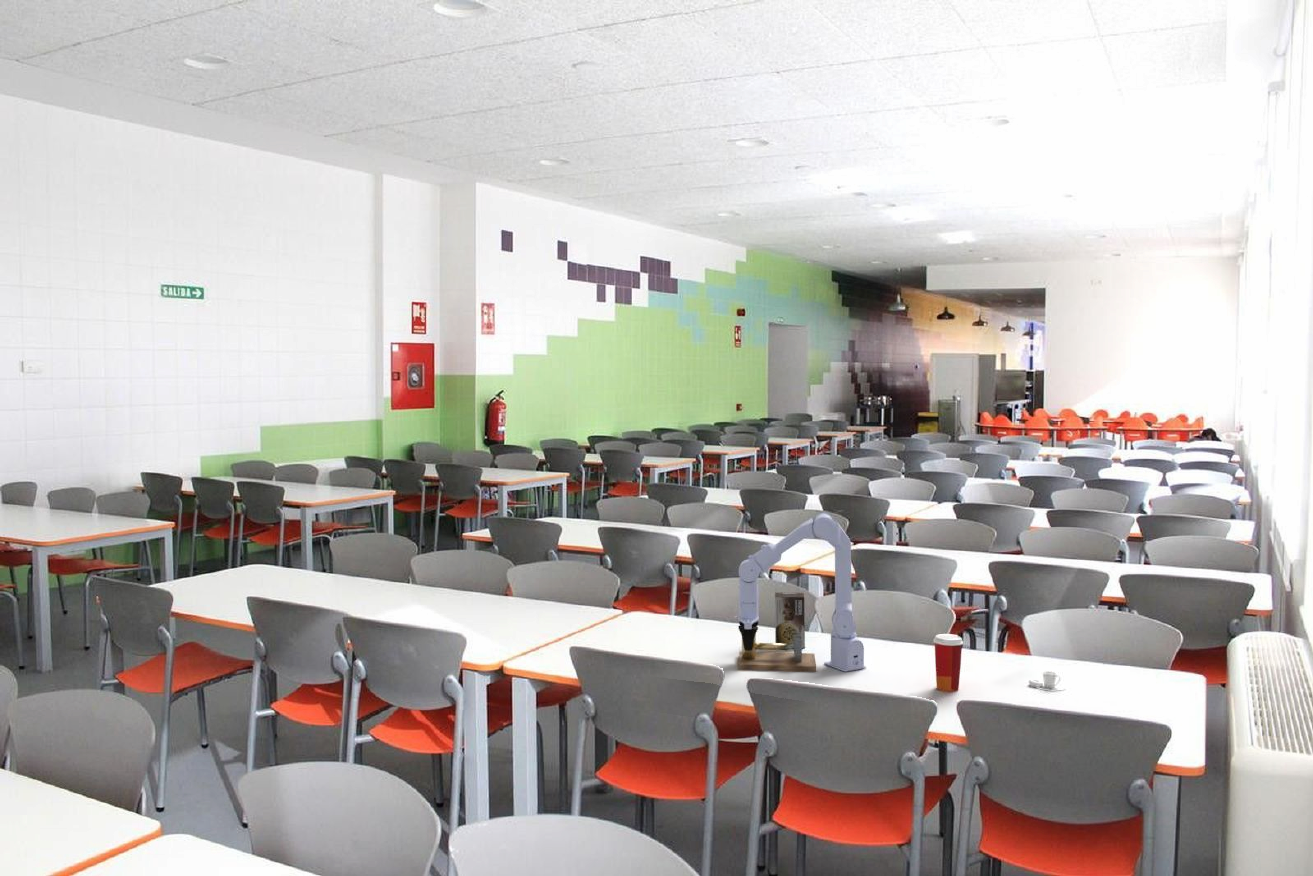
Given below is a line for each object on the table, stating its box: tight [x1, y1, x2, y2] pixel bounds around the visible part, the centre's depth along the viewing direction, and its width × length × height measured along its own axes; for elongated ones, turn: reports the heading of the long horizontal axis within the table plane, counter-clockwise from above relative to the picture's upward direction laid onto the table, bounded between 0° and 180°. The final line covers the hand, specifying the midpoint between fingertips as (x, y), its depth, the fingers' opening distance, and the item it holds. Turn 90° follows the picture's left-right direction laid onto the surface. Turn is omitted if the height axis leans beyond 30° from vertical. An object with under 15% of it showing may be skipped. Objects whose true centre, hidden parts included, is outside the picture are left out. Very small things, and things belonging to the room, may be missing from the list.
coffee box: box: [774, 592, 806, 649], centre depth 320 cm, size 9×6×16 cm
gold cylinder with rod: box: [741, 633, 788, 659], centre depth 300 cm, size 13×4×8 cm, turn 84°
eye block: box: [737, 632, 817, 673], centre depth 300 cm, size 22×14×8 cm, turn 84°
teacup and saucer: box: [1028, 671, 1066, 692], centre depth 277 cm, size 9×8×4 cm
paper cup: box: [932, 633, 964, 693], centre depth 275 cm, size 8×8×14 cm
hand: (748, 648), depth 300 cm, fingers closed on gold cylinder with rod, 4 cm apart
